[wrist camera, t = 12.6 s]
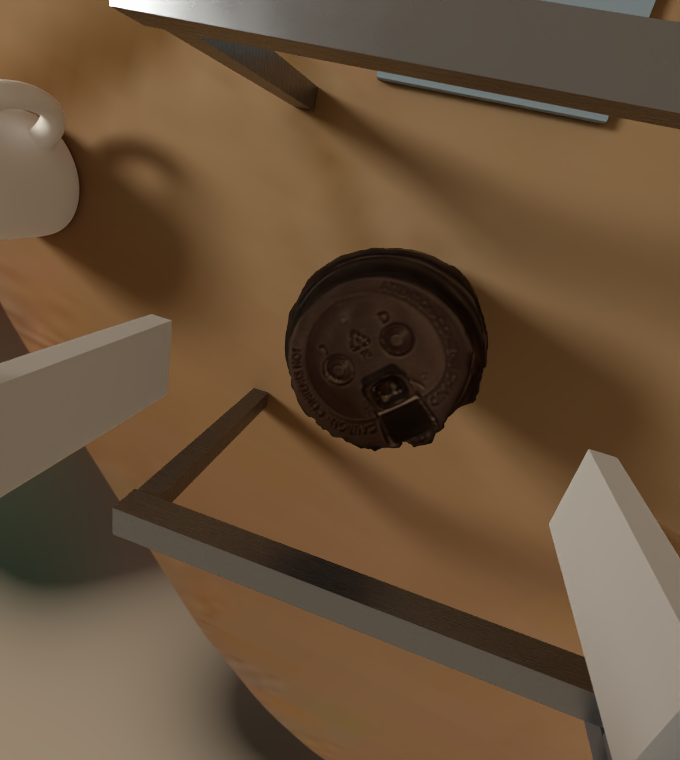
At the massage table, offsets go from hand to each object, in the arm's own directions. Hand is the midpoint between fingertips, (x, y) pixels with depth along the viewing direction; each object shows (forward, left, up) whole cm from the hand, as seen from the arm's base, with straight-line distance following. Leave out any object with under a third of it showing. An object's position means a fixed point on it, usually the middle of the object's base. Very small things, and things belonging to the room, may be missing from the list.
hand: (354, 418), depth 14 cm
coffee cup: (0, 0, -17) cm, 17 cm away
